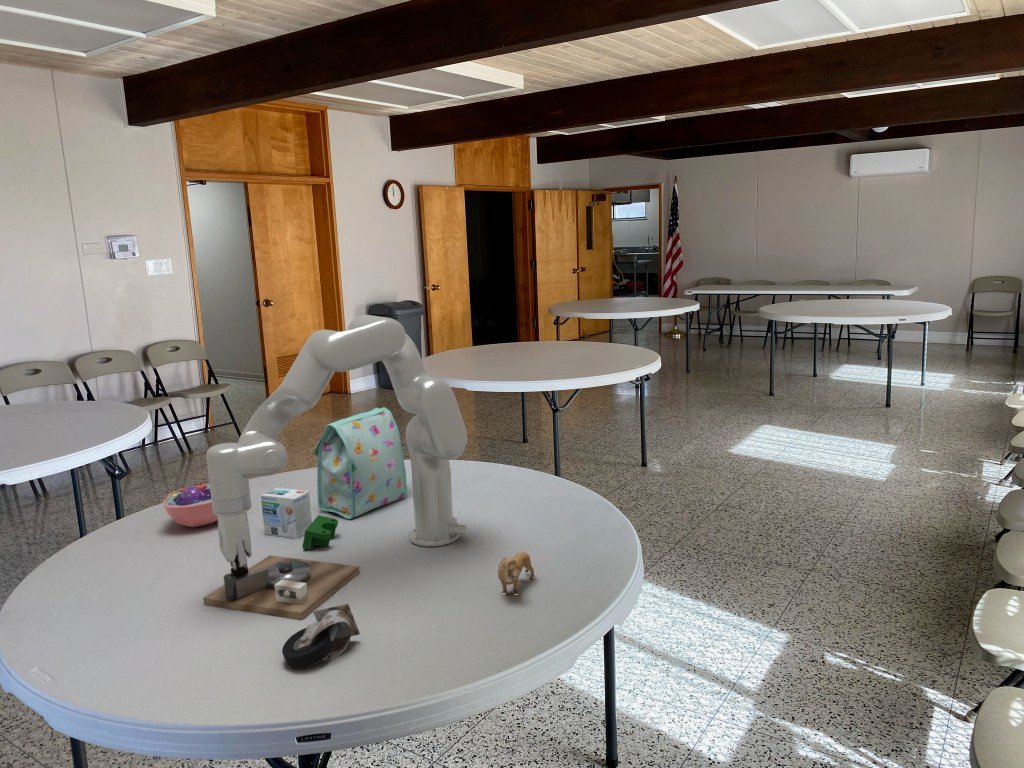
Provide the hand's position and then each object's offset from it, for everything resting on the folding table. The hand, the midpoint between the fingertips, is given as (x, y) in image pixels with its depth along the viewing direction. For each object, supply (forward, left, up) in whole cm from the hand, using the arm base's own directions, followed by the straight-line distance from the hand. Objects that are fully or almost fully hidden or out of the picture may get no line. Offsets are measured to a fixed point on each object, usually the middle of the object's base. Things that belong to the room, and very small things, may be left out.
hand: (241, 585), depth 157 cm
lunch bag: (+4, -57, -3) cm, 57 cm away
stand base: (-6, -6, -3) cm, 9 cm away
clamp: (0, -30, -3) cm, 30 cm away
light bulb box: (+13, -34, -3) cm, 36 cm away
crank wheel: (-5, -3, -1) cm, 5 cm away
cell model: (+41, -34, -3) cm, 53 cm away
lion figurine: (-55, -18, -3) cm, 59 cm away
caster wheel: (-29, +16, -3) cm, 33 cm away
